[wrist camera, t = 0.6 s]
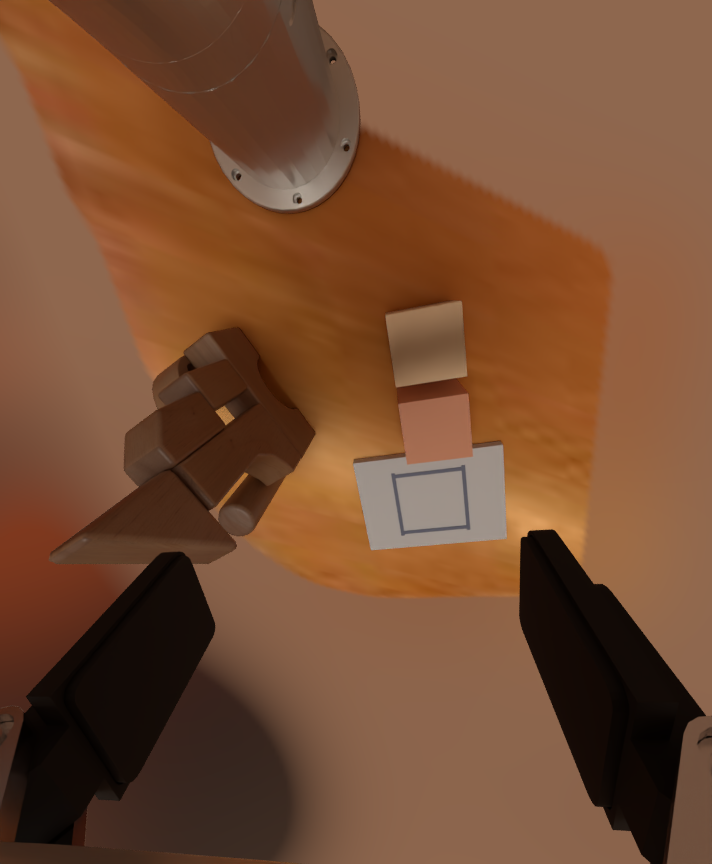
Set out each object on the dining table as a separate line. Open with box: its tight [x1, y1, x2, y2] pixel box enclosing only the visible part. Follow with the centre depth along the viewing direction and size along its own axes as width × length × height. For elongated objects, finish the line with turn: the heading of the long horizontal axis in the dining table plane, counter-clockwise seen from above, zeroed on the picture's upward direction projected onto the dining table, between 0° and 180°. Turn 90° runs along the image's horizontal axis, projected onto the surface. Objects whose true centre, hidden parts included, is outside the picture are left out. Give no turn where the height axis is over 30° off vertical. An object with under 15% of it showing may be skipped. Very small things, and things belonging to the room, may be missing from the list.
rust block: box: [397, 379, 473, 465], centre depth 33 cm, size 6×6×6 cm
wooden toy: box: [49, 327, 315, 564], centre depth 26 cm, size 16×7×25 cm, turn 34°
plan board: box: [353, 441, 507, 550], centre depth 39 cm, size 12×16×1 cm
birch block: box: [385, 301, 467, 387], centre depth 31 cm, size 6×6×6 cm
